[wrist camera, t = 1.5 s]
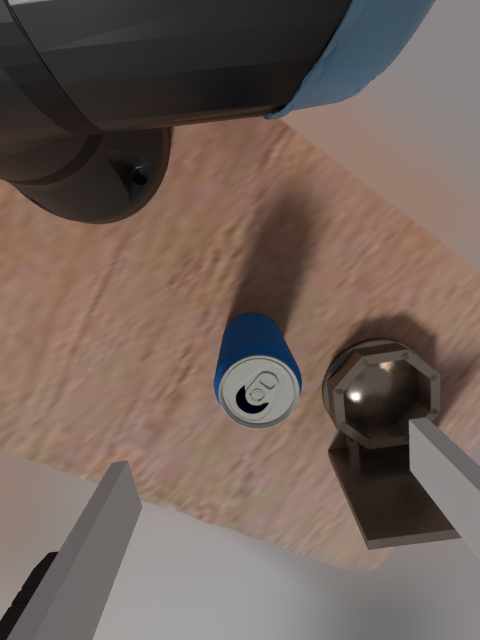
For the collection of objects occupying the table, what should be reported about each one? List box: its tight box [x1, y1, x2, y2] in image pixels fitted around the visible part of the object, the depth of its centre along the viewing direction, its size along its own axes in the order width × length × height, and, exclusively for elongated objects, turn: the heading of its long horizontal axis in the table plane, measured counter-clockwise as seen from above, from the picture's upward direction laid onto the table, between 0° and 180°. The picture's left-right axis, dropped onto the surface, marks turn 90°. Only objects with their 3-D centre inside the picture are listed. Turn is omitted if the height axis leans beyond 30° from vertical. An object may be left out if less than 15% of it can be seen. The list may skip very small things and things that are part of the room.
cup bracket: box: [322, 338, 462, 550], centre depth 27 cm, size 14×12×11 cm
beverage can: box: [214, 313, 302, 429], centre depth 25 cm, size 6×6×12 cm
